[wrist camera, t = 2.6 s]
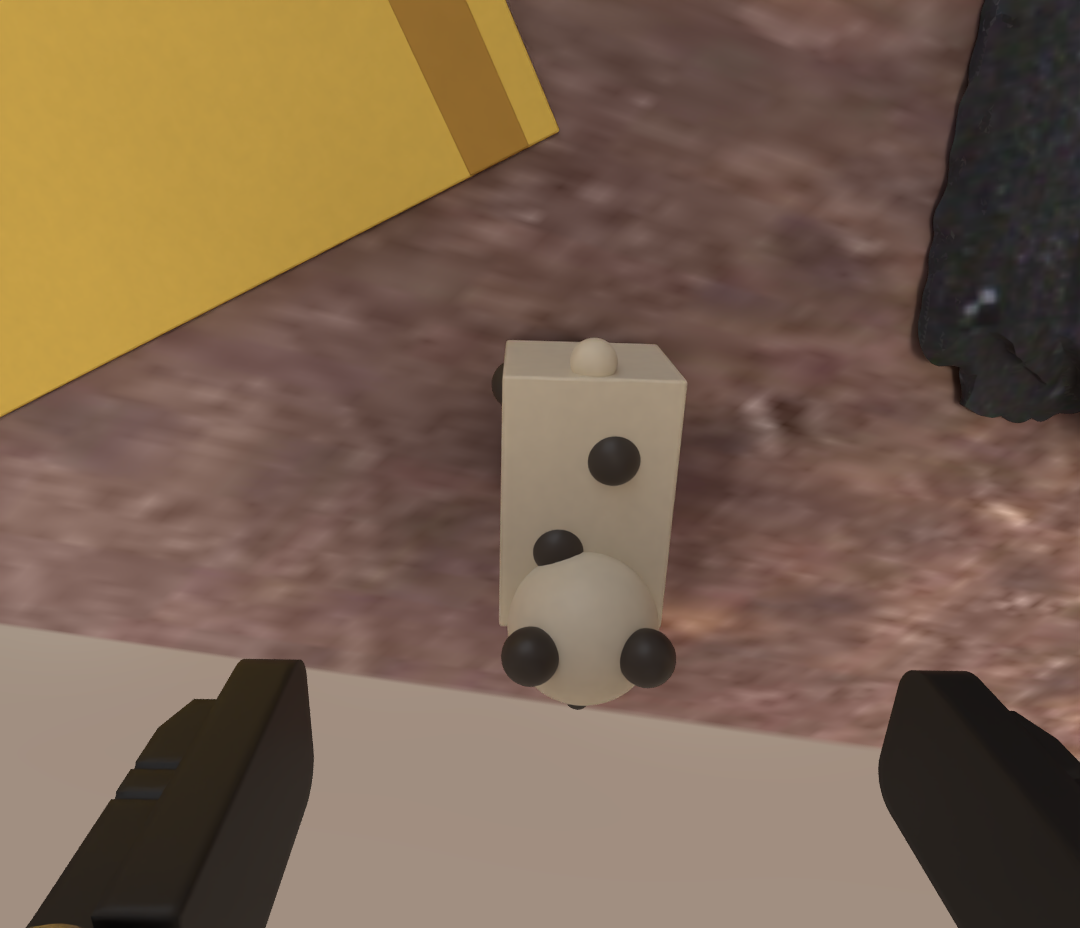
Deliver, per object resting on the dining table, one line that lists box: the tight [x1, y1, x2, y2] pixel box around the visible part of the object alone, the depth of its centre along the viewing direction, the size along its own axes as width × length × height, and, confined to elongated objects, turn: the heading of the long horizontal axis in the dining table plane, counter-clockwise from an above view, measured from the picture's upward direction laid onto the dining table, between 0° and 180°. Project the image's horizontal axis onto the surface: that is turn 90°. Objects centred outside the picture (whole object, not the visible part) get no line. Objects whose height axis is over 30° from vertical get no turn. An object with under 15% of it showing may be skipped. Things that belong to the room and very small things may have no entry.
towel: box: [0, 0, 559, 417], centre depth 16 cm, size 20×15×1 cm
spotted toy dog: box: [492, 338, 687, 710], centre depth 17 cm, size 9×4×8 cm, turn 178°
